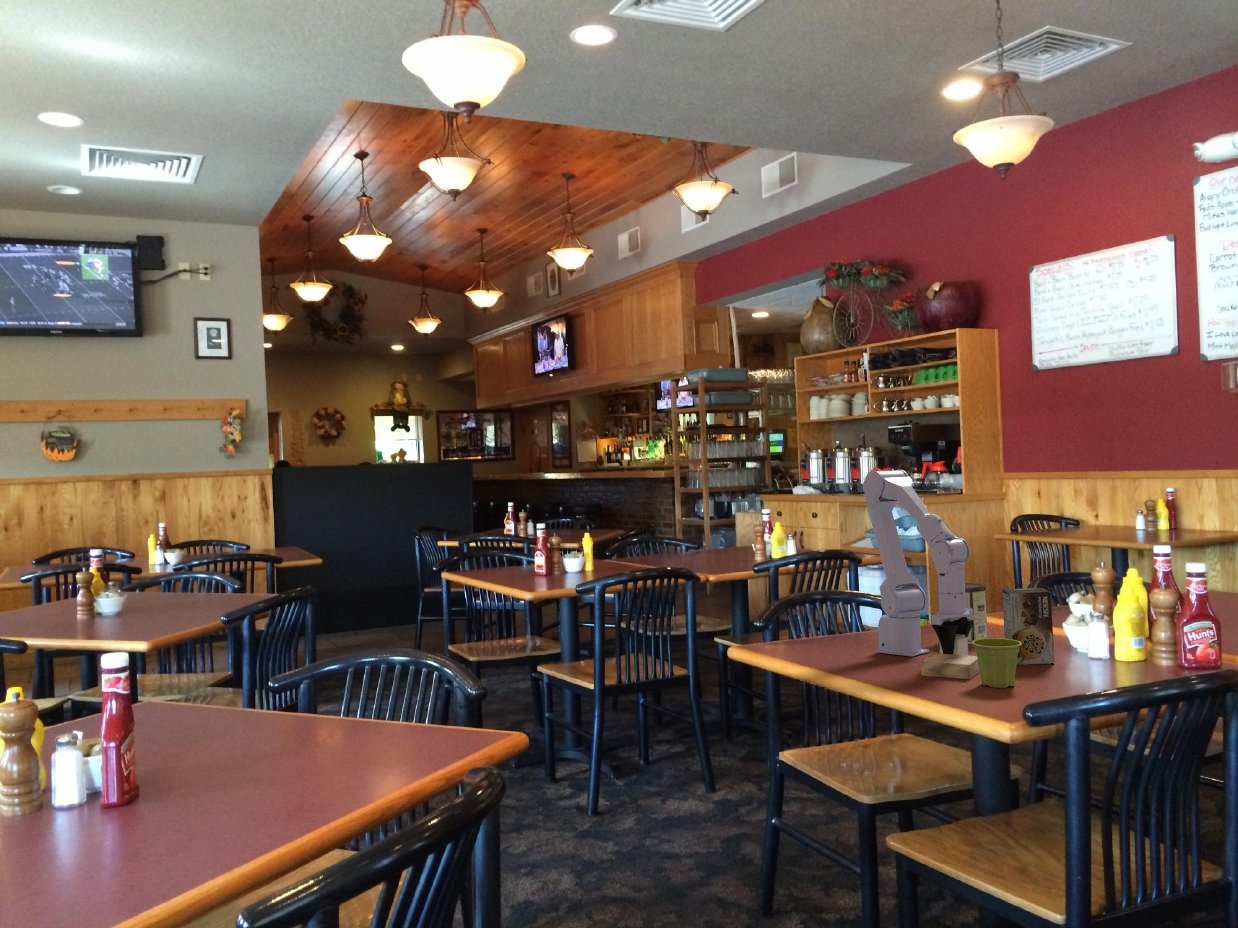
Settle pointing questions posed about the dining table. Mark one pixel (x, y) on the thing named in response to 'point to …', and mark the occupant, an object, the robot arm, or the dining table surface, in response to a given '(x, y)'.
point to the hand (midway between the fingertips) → (953, 652)
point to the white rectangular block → (959, 645)
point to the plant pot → (997, 661)
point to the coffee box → (1029, 624)
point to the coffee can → (976, 610)
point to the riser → (950, 666)
